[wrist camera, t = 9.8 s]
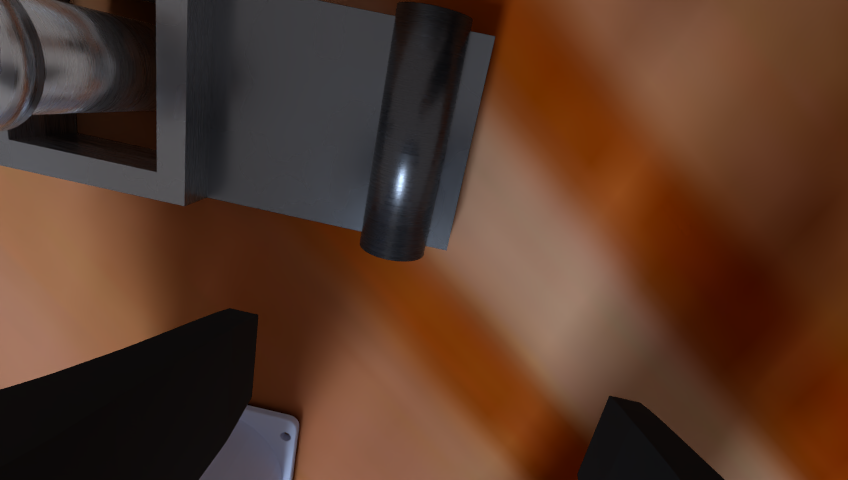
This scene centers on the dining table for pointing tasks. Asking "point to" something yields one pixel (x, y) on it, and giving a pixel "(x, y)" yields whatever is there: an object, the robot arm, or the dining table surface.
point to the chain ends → (295, 117)
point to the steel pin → (72, 61)
